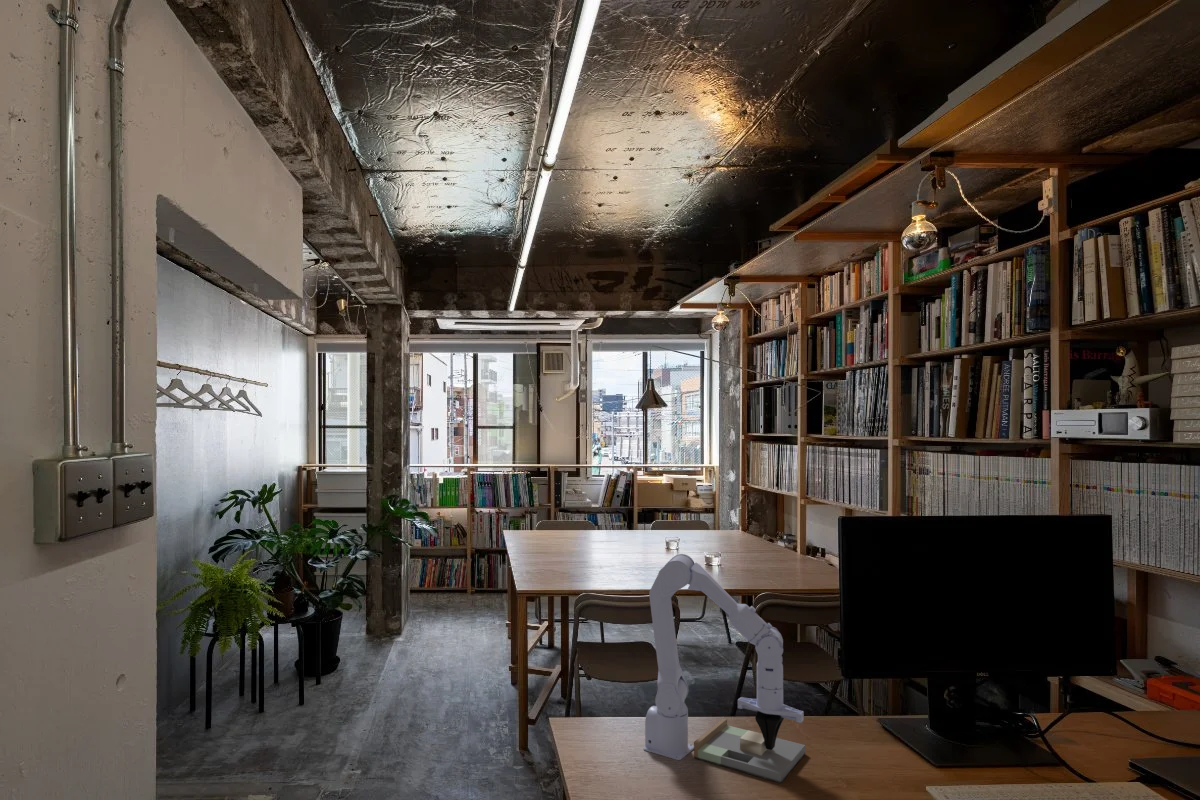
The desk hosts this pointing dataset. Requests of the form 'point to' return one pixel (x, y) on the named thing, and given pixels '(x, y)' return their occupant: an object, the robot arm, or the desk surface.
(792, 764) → the board
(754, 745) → the cream block
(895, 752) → the desk surface
